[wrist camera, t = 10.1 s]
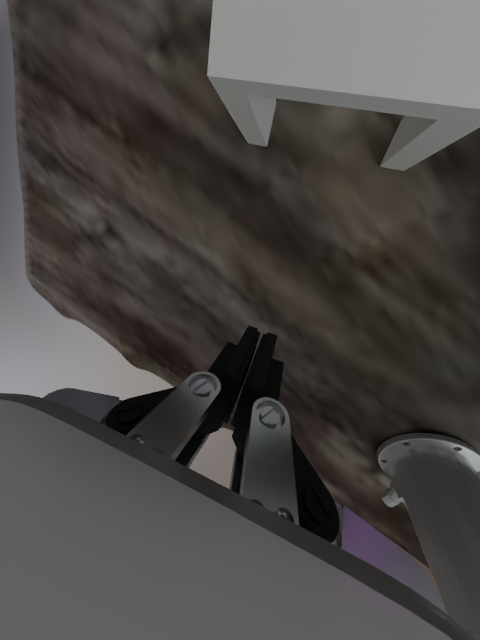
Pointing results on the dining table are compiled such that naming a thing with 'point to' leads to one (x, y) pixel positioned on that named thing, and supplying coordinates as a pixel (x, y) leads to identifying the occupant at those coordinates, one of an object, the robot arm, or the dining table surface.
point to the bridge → (352, 65)
